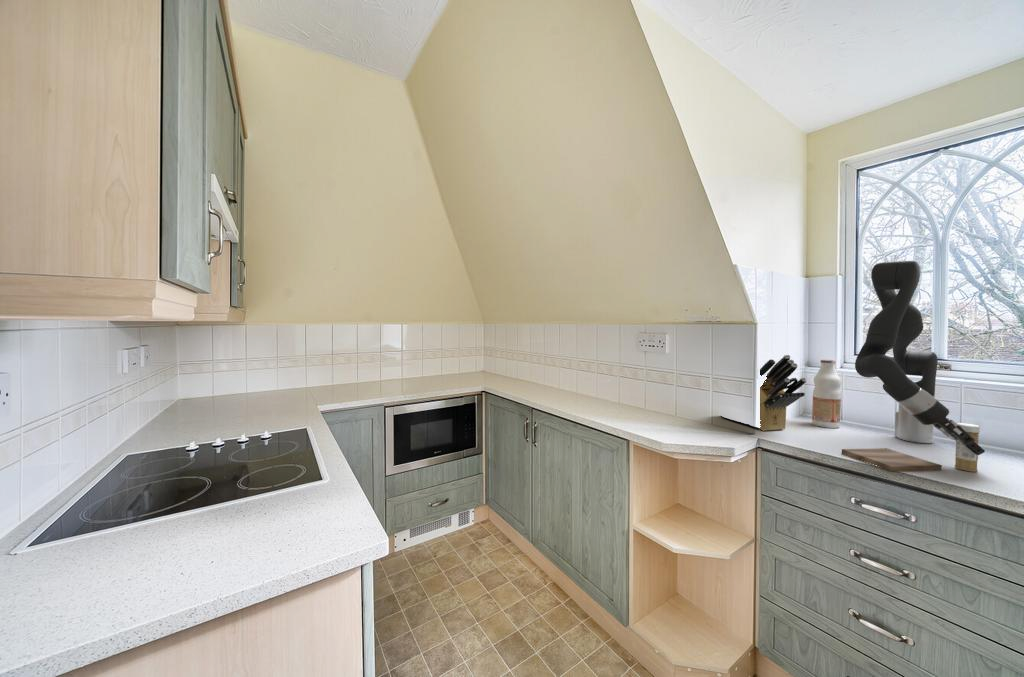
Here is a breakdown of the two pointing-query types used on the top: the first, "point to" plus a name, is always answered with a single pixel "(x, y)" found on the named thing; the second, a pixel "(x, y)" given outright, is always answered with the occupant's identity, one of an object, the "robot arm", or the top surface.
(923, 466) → the walnut board
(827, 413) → the fruit juice
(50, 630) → the top surface
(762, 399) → the knife block
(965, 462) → the sprinkles bottle
